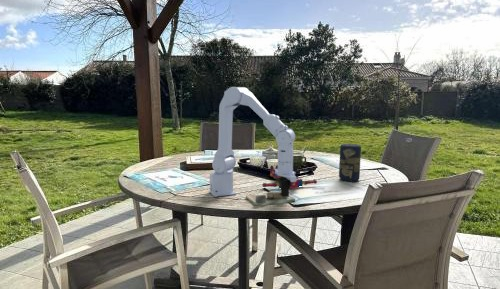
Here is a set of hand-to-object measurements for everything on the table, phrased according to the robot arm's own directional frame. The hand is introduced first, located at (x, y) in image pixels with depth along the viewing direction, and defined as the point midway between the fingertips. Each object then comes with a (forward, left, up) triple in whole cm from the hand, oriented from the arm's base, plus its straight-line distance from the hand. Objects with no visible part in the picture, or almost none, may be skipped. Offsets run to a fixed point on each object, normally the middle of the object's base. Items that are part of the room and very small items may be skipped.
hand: (284, 196), depth 139 cm
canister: (+44, +20, -2) cm, 48 cm away
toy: (+12, +25, -2) cm, 28 cm away
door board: (-4, +4, -2) cm, 6 cm away
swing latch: (-2, +1, -1) cm, 3 cm away
